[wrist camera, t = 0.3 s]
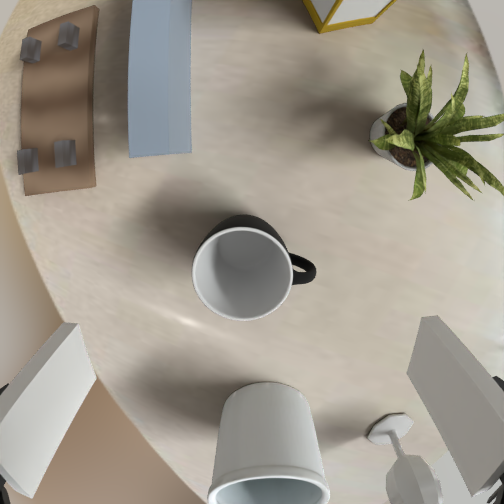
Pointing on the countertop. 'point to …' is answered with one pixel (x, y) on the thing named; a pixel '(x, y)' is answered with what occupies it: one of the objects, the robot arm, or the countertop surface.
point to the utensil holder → (267, 449)
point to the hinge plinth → (58, 104)
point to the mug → (246, 269)
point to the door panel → (159, 78)
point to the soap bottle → (344, 12)
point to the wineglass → (406, 466)
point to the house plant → (432, 133)
